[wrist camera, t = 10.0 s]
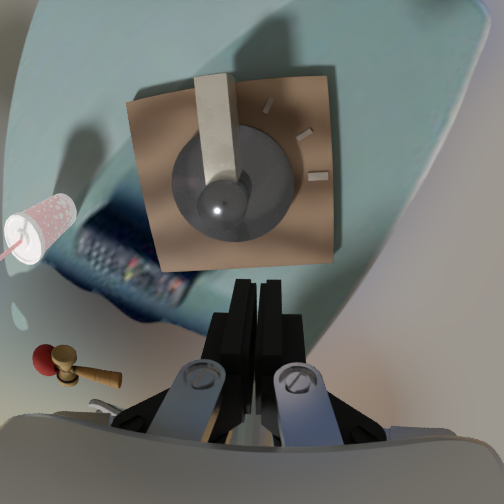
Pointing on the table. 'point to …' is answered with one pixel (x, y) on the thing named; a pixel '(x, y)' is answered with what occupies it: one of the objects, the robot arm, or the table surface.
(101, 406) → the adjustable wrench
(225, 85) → the dial
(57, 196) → the beverage cup
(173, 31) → the table surface
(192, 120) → the dial plate
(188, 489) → the robot arm
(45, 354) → the kendama
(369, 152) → the table surface
